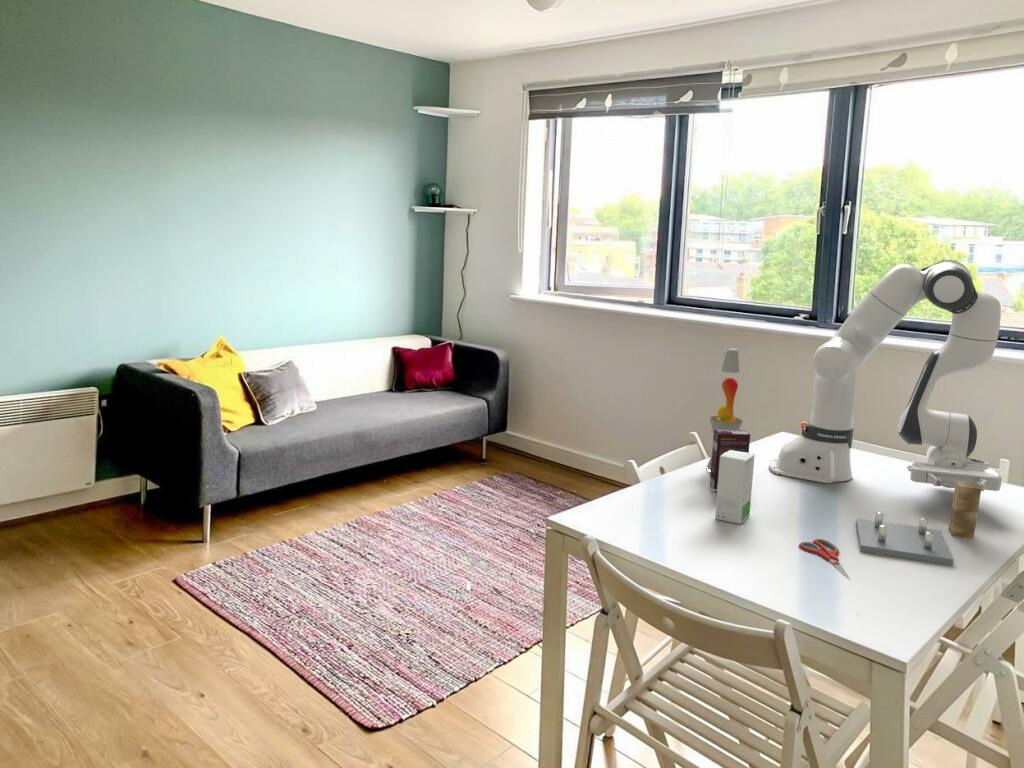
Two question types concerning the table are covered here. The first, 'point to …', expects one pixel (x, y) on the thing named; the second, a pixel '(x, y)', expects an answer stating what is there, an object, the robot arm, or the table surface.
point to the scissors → (825, 553)
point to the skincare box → (734, 486)
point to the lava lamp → (727, 397)
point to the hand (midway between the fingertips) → (959, 485)
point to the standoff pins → (921, 531)
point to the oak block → (964, 509)
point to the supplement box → (726, 449)
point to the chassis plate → (902, 542)
